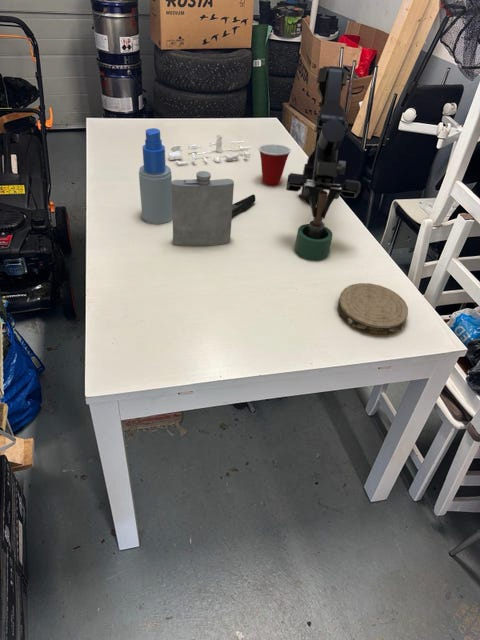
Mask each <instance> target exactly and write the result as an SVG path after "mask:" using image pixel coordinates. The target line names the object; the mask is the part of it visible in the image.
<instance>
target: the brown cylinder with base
mask: <svg viewBox="0 0 480 640" xmlns="http://www.w3.org/2000/svg"><path fill="white" fill-rule="evenodd" d="M328 193H329V192H328V191H327V190H324V191H319V195H318V200H317V203H316V213H315V218H314V217H313V220H310V221H309V223H308V224H309V228H308V233H307V237H309V238H312V239H321V238H322V234H323V229H324V226H325V223H324V222H323V221H322V220H323V213H324V208H325V204H326V199H327V196H328Z"/></svg>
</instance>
